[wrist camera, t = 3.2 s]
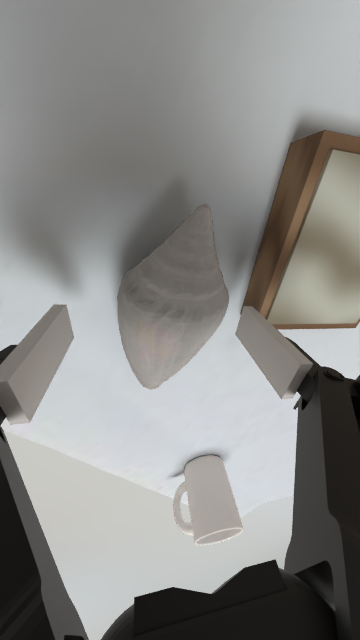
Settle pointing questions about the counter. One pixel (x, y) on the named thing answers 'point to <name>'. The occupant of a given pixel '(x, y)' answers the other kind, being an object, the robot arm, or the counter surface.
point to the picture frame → (312, 239)
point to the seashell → (172, 301)
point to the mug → (208, 502)
